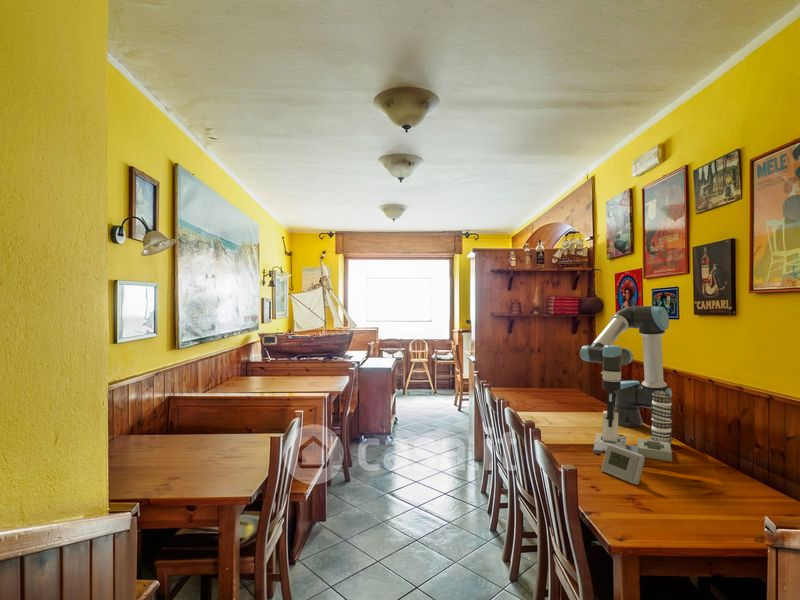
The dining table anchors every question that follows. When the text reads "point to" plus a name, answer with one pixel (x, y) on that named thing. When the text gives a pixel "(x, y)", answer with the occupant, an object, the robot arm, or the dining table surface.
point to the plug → (615, 436)
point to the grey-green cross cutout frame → (655, 449)
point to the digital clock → (623, 464)
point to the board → (628, 447)
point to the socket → (608, 442)
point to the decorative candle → (661, 417)
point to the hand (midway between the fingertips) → (610, 432)
